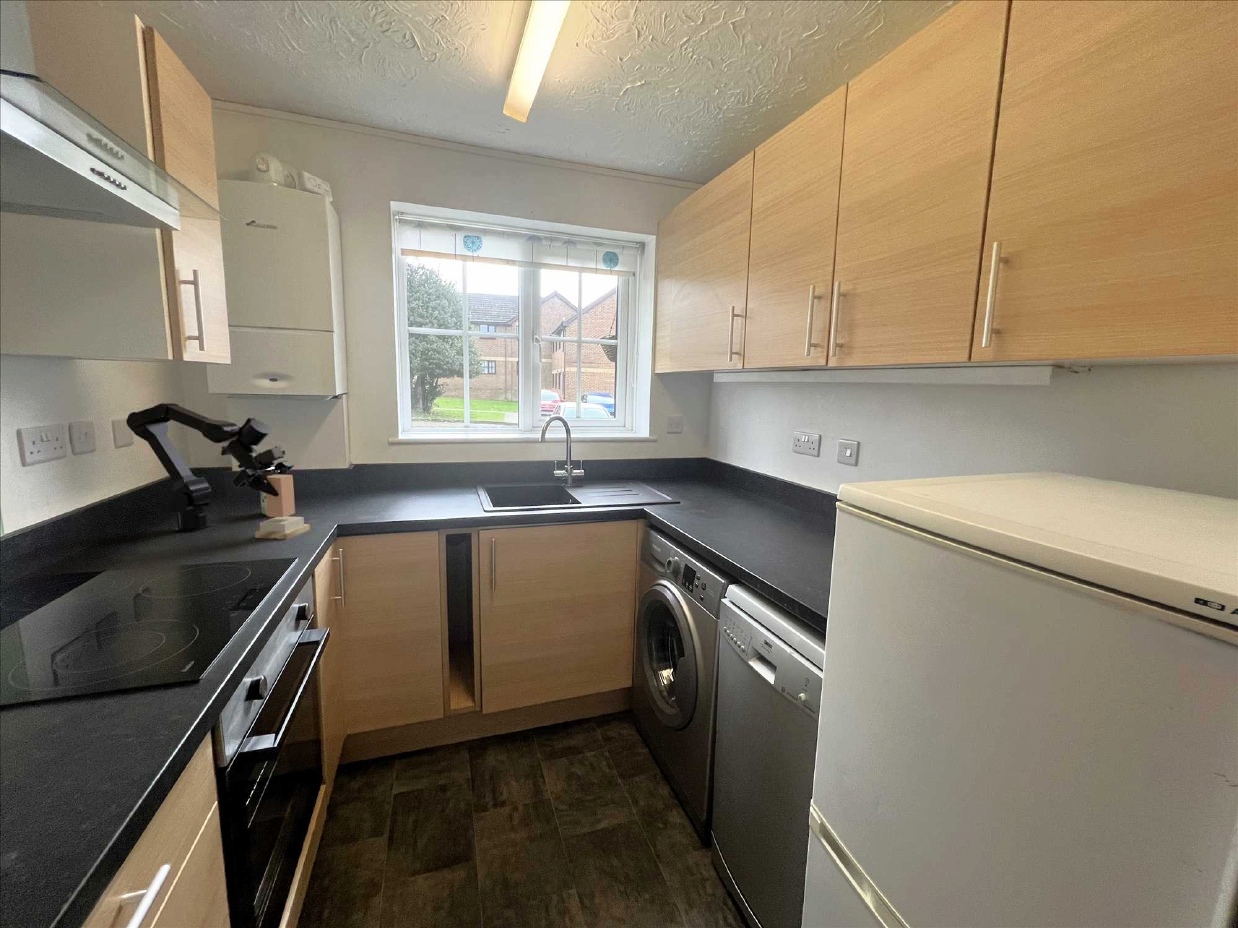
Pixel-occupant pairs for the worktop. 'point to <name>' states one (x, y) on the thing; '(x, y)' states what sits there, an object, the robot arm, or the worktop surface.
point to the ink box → (263, 503)
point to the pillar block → (281, 496)
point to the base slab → (282, 533)
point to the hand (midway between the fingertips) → (284, 493)
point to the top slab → (281, 524)
